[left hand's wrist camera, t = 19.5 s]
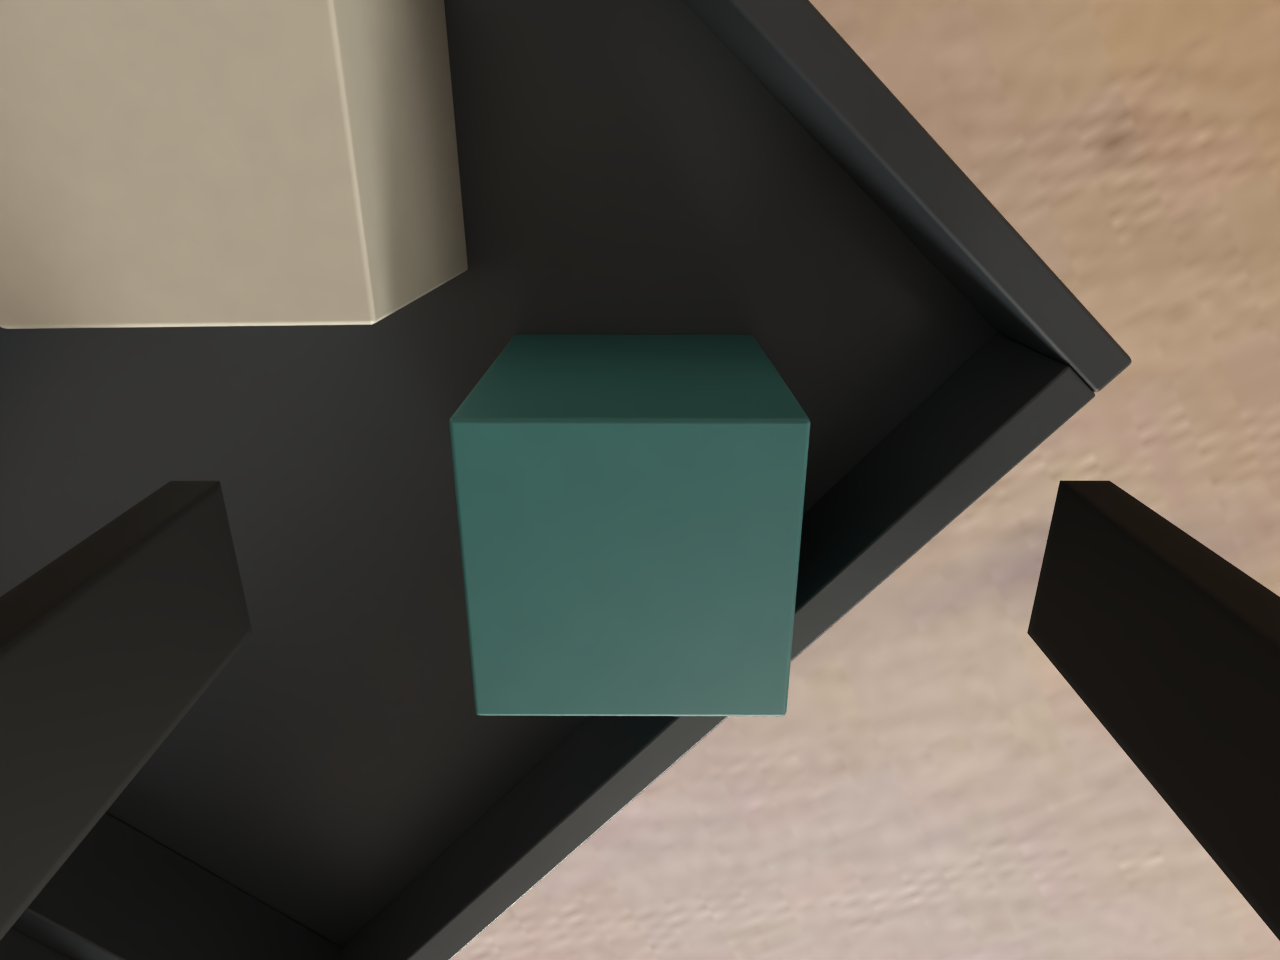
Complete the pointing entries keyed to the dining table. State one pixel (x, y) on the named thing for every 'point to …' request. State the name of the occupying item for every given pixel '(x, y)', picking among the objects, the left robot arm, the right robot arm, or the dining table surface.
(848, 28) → the dining table surface
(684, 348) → the teal block
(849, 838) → the dining table surface
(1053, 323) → the tray
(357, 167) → the beige block
